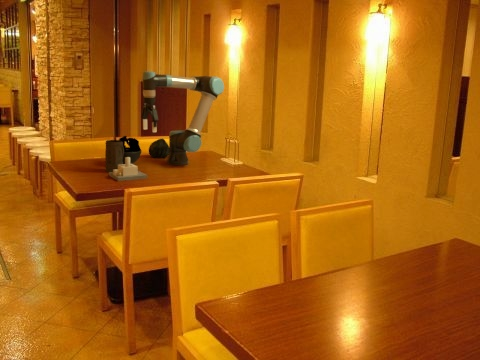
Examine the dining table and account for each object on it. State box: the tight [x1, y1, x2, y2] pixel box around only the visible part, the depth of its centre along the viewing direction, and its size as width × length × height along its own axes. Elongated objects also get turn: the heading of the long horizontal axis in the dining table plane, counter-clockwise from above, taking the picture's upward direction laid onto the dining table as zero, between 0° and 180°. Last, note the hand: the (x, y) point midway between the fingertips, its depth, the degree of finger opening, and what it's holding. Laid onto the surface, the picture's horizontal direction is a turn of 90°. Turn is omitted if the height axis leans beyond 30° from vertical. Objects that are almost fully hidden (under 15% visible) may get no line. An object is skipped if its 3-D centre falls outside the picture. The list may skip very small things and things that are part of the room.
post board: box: [108, 157, 148, 182], centre depth 299 cm, size 18×16×12 cm
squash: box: [148, 138, 169, 159], centre depth 365 cm, size 14×15×15 cm
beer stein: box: [104, 139, 124, 174], centre depth 314 cm, size 15×11×20 cm
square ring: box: [113, 163, 139, 176], centre depth 299 cm, size 13×9×5 cm
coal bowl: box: [118, 135, 142, 165], centre depth 334 cm, size 20×20×19 cm
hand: (149, 130), depth 313 cm, fingers open, 13 cm apart
